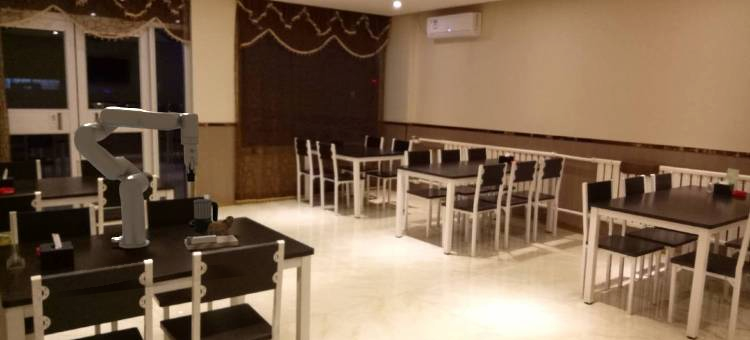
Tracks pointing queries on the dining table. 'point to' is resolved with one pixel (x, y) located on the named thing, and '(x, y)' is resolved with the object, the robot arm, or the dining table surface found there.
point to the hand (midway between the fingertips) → (190, 181)
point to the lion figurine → (221, 226)
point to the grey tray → (214, 243)
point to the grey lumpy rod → (201, 239)
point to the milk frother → (204, 214)
